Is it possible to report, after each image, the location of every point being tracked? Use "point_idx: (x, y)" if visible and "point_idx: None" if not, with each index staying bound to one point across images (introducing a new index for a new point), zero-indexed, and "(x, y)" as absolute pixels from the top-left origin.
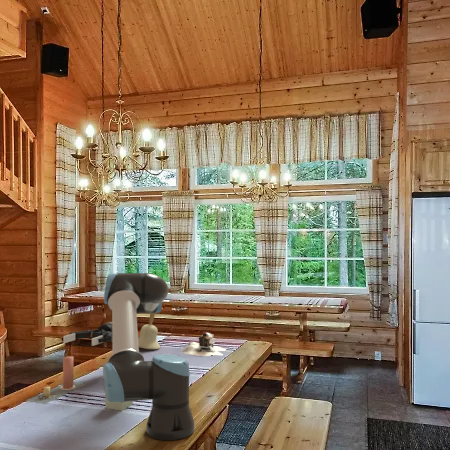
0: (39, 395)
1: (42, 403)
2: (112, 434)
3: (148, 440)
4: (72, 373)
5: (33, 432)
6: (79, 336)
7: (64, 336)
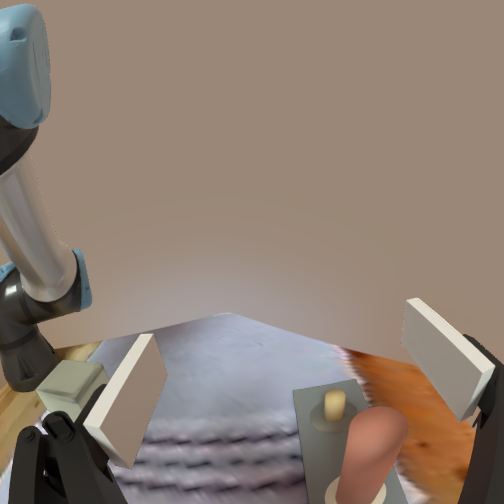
0: (363, 409)
1: (300, 389)
2: (102, 356)
3: (61, 354)
4: (342, 477)
5: (217, 333)
6: (482, 443)
7: (408, 300)
